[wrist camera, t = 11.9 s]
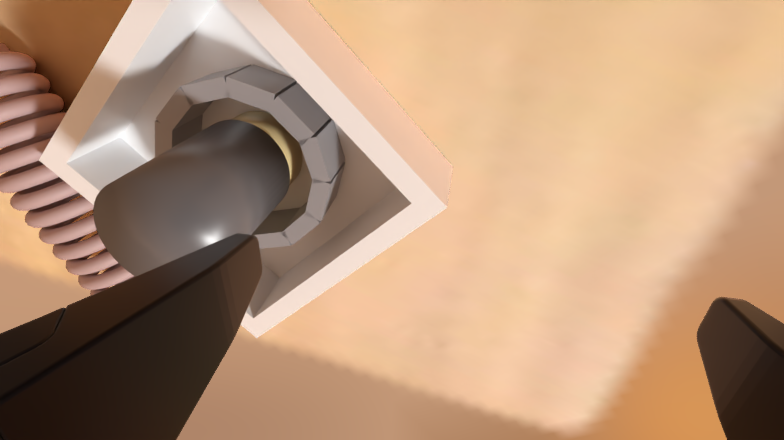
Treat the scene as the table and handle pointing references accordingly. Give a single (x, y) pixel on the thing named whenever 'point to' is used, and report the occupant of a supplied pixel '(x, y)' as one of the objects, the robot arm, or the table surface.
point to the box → (287, 105)
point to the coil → (46, 174)
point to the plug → (198, 192)
